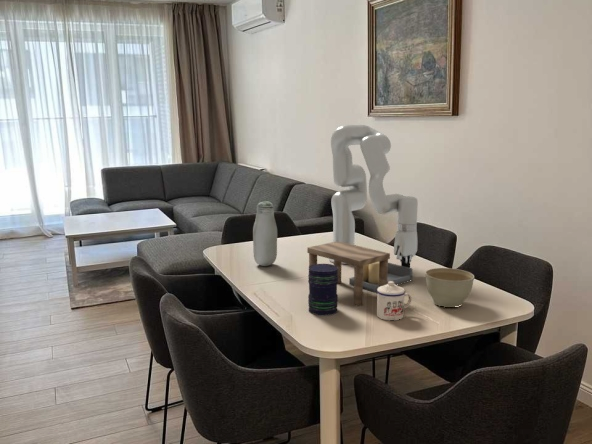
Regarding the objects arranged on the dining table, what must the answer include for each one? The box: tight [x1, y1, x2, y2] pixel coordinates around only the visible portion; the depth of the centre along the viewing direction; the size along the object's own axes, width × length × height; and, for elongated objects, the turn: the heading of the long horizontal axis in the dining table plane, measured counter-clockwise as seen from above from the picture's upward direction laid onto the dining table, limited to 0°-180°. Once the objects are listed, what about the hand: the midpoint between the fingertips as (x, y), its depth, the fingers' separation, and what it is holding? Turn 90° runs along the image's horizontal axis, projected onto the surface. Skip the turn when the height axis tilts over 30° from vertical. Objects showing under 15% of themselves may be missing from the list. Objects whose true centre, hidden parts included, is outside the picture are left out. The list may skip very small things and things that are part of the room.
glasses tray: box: [348, 262, 413, 293], centre depth 220 cm, size 22×13×10 cm, turn 131°
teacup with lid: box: [376, 281, 413, 321], centre depth 184 cm, size 12×9×12 cm
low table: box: [306, 241, 391, 307], centre depth 208 cm, size 16×26×16 cm, turn 41°
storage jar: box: [307, 263, 339, 317], centre depth 189 cm, size 10×10×15 cm
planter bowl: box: [425, 267, 475, 308], centre depth 195 cm, size 16×16×11 cm
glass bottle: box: [252, 200, 278, 267], centre depth 244 cm, size 10×10×28 cm
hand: (405, 271), depth 231 cm, fingers closed
